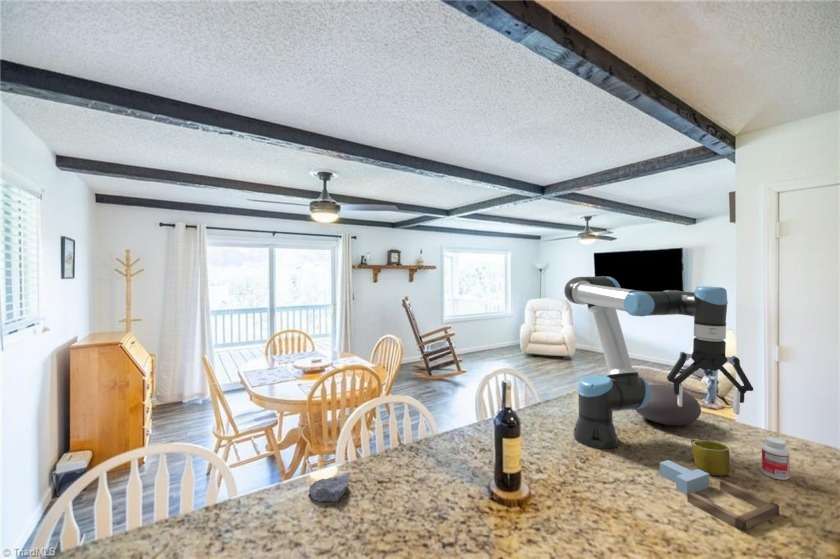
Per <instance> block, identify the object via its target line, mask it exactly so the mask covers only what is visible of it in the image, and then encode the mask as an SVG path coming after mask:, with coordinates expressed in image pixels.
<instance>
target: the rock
mask: <svg viewBox="0 0 840 559" xmlns="http://www.w3.org/2000/svg"><path fill="white" fill-rule="evenodd" d="M350 476H351V473H350V471H349V472H344V473H343V474H340V475H336V476H332V477H328V478H321V479H318V480H317V481H314V482H313V483H312V484H310V486H309V488H308V489H309V490H308V492H309V493H310V497H311V499H312V500H314V501H317V500H319V501H318V502H333V503H337V502H339V501H340V498H341V497H342V496H343V495H344V494H345V493H346V491H347V490H346V489H347V488H348V485H349V482H350V480H349V478H350Z"/></svg>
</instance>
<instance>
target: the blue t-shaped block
mask: <svg viewBox="0 0 840 559" xmlns="http://www.w3.org/2000/svg"><path fill="white" fill-rule="evenodd" d="M659 476H661V477H662V478H665V479H667V480H669V481H670V482H671V483H674V484H676V485H675V488H676V490H677V491H678V492H680V493H682V494H684V495H686V496H687V493H688V492H693V493H697V492H699V491H702V489H703V490H706V489H707V488H708V489H709V488H710V475H709V473H706V472H704V471H702V470H700V469H698V468H697V469H693V470H691V469H688V468H687V467H684V466H682V465H680V464H678V463H675V462H673V461H672V460H669V459H667V460H663V461H660V462H659Z"/></svg>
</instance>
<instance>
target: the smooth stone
mask: <svg viewBox="0 0 840 559" xmlns="http://www.w3.org/2000/svg"><path fill="white" fill-rule="evenodd" d="M648 385H649V387H650V390H651V398H650V401H649V402H648V404H647V405H646V406H645V407H643V408H639V409H636V410H635V411H636V413H637V414H639V415H640V416H641V417H643V418H645V419H648V420H649V421H651V422H654V423H657V424H661V425H667V426H682V425H689V424H691V423H693V422H695V421H696V420H698V419H699V418H700V416H701V413H702V408H701V405H700V403H699V401H698V400H697V399H696V398H695V397H694V396H693V395H691V394H690V393H688V392H687V391H685V390H683V393H682V407H679V405H678V404H677V399H678V395H676V394H675V393H674V386H671V385H668V384H667V385H666V384H657V383H656V384H648Z"/></svg>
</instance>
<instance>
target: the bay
mask: <svg viewBox="0 0 840 559" xmlns="http://www.w3.org/2000/svg"><path fill="white" fill-rule="evenodd" d="M719 490H721V491H722V490H723V491H722V492H724V491H725V492H724V493H726V492H727V493H726V494H728V493H729V495H731V496H733V497H735V498H737V499H739V498H740V499H739V500H741V499H742V500H741V501H743V500H744V501H743V502H745V501H746V502H745V503H747V502H748V503H747V504H750V505H751V504H752V505H751V506H753V505H754V506H753V507H756V508H754V509H752V510H750V511H747V512H745V513H743V514H740V515H738V514H736V513H734V512H731V511H729V510H728V509H726V508H724V507H722V506H720V505H718V504H716V503H714V502H712V501H710V500H708V499H706V498H704V497H703V496H701V495H699V494H696V492H694V493H693V492H688V493H687V495H686V496H687V503H690V504H691V505H693V506H695V507H696V508H699V509H700V510H702V511H704V512H706V513H707V514H710V515H711V516H713V517H715V518H717V519H719V520H720V521H722V522H724V523H725V524H727V525H729V526H732V527H733V528H735V529H737V530H738V531H741V532H745V531H747V530H749V529H751V528H753V527H755V526H757V525H760V524H762V523H764V522H767V521H769V520H771V519H773V518H775V517H777V516H779V515H780V504H777V503H775V502H773V501H770V499H767V498H764V497H762V496H760V495H758V494H755V493H754V492H751V491H748V490H747V489H744V488H742V487H740V486H738V485H735V483H734V484H733V483H732V482H729V481H727V480H724V479H722V480H719Z"/></svg>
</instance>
